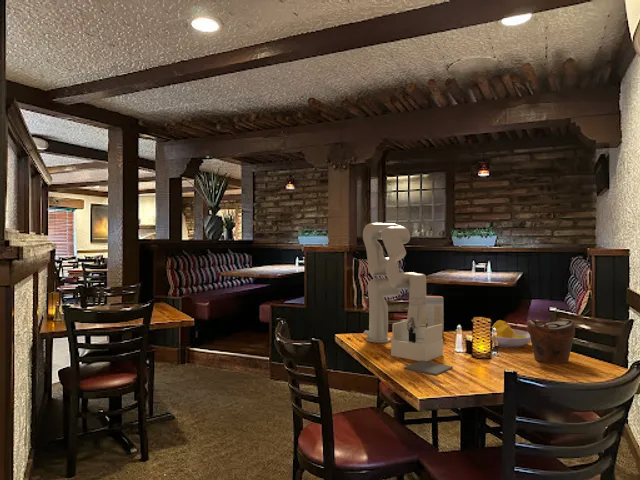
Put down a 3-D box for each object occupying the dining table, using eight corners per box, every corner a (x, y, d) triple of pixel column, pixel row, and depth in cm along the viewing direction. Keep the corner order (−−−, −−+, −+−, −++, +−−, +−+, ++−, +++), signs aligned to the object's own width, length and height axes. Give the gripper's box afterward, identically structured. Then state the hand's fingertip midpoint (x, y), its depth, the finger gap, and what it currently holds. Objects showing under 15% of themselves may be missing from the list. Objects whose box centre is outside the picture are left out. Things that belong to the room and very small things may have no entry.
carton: (391, 355, 208) (391, 324, 208) (410, 349, 221) (410, 319, 221) (424, 362, 198) (425, 328, 198) (442, 354, 210) (443, 323, 210)
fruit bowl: (541, 344, 233) (541, 321, 233) (519, 353, 214) (519, 328, 214) (487, 336, 253) (487, 315, 253) (462, 343, 233) (462, 321, 233)
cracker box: (442, 333, 258) (442, 295, 258) (443, 336, 252) (444, 297, 252) (416, 333, 259) (416, 295, 259) (417, 335, 253) (417, 296, 253)
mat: (404, 368, 187) (404, 367, 187) (421, 361, 198) (421, 360, 198) (436, 375, 178) (436, 373, 178) (452, 368, 189) (452, 366, 189)
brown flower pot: (516, 357, 207) (517, 316, 206) (549, 353, 214) (550, 314, 214) (549, 368, 190) (550, 324, 190) (585, 363, 198) (586, 321, 197)
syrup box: (408, 353, 212) (409, 321, 212) (421, 353, 212) (421, 321, 212) (412, 357, 206) (412, 324, 206) (425, 356, 207) (425, 323, 207)
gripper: (419, 299, 218) (419, 336, 218) (400, 302, 205) (400, 341, 205) (434, 300, 213) (434, 338, 213) (415, 303, 200) (415, 344, 200)
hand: (417, 339), depth 209 cm, fingers open, 9 cm apart
